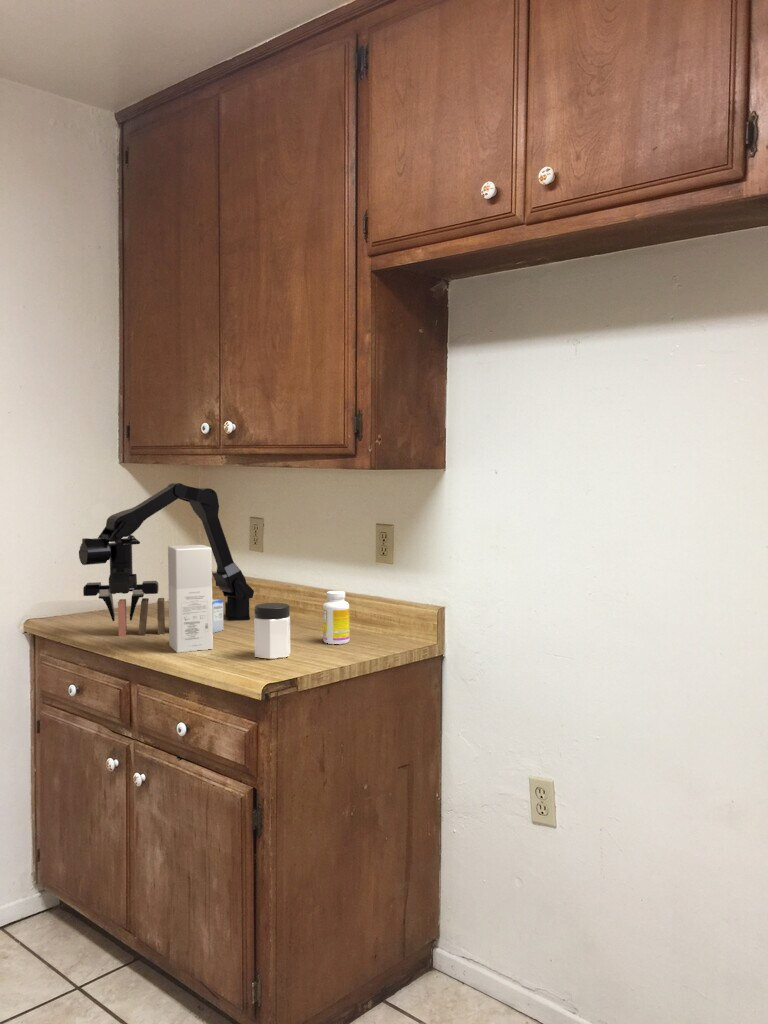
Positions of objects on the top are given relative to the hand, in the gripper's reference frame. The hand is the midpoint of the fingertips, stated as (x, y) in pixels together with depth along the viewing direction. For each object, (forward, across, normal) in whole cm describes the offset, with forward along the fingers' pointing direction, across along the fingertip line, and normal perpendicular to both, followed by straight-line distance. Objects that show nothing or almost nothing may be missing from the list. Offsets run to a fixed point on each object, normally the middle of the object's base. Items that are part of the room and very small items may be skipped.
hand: (122, 620), depth 233 cm
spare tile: (+4, 0, 0) cm, 4 cm away
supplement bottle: (+4, +54, -22) cm, 58 cm away
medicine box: (+4, +22, 0) cm, 22 cm away
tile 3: (+4, +5, 0) cm, 6 cm away
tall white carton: (+4, +18, -21) cm, 28 cm away
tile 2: (+4, +10, 0) cm, 11 cm away
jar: (+4, +37, -34) cm, 50 cm away
